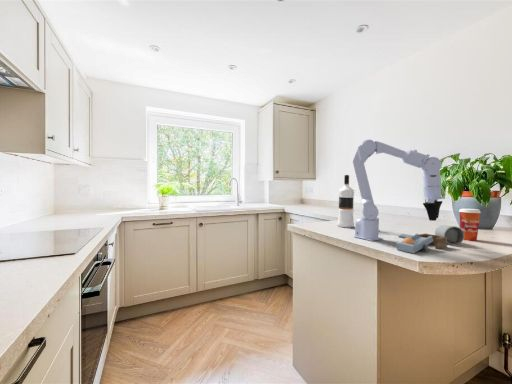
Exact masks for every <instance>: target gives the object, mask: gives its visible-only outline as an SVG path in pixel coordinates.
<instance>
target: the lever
mask: <svg viewBox="0 0 512 384" xmlns="http://www.w3.org/2000/svg"><path fill="white" fill-rule="evenodd" d="M407 237H409V238H412V239H413V240H414V245H411V244H406V243H403V240H404V239H405V238H407ZM398 238H399V239H403V240H402V241H396V242H395V245H396V250H397V251H401V252H406V253H410V254H413V255H414V254H415V253H417V252H419V251H418V250H420V249H422V248H424V245H428V246H429V245H431V244H430V243H431V242H433V238H432V236H429V237H428V238H424V237H419V233H415V234H413V235H412V234H407V233H401V234H399V235H398Z"/></svg>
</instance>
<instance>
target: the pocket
mask: <svg viewBox="0 0 512 384" xmlns="http://www.w3.org/2000/svg"><path fill="white" fill-rule="evenodd" d="M418 235H419V237H424V238H428V237H429V236H432V238H433V242H431V243H430V244H429V245H431V246H434V249H436V250H440V249H445V248H447V247H448V243H447V237H443V236H437V235H435V234H431V233H418Z"/></svg>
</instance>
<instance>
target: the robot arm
mask: <svg viewBox="0 0 512 384" xmlns="http://www.w3.org/2000/svg"><path fill="white" fill-rule="evenodd" d="M374 153H375V155H379V154H383V153H384V154H386V155H390V156H392V157H395V158H399V159H402V161H403V163H405V164H406V165H409V166H412V167H416V168H419V169H421V170H423V176H422V177H423V196H424V197H423V200H426V202H423V203H422V205H423V207H424V208H425V210H426V213H427V217H428V220H429V221H430V222H431V221H434V222H435V221H437V219H439V214H440V209H441V207H442V204H443V200H444V199H446V197H445V196H442V186H441V185H442V183H441V182H442V181H441V171H440V169H441V168H442V165H443V163H442V161H441V160H440V158H438V157H436V156H431V157H430V155H431V154H424V153H421V152H418V150H417V149H413V150H412V149H409V150H407V151H405V150H402V149H400V148H397V147H395V146H392V145H389V144H387V143H384V142H380V141H377V140H375V141H374V140H372V139H366V140H363V141H362V142H361V143H360V144H359V146H358V147H357V150H356V152H355V154H354V157H353V160H352V164H353V169H354V172H355V177H356V181H357V184H358V189H359V193H360V198H361V200H362V205H363V207H362V215H363V216H362V217H358V218H357V219H356V221H355V222H354V229H355V230H354V236H353V237H354V238H357V239H362V240H366V241H371V242H373V241H379V240H383V239H384V238H382V237H379V235H380V234H379V229H380V227H379V226H380V218H378V216H379V209H378V207H377V205H376V204H375V201H374V198H373V194H372V191H371V187H370V182H369V178H368V174H367V170H366V167H365V163H366V162H367V160H368V159H369V158H370V157H371V156H372V155H374Z"/></svg>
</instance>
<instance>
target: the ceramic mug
mask: <svg viewBox="0 0 512 384" xmlns="http://www.w3.org/2000/svg"><path fill="white" fill-rule="evenodd" d="M434 235H437V236H443V237H447V245H448V244H449V245H451V246H459V244H461V243H463V241H464V240H463V239H464V233H463V231H462V230H461V229H460V226H456V225H446V224H443V225H440V226H438V227H436V228H435V230H434Z"/></svg>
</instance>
